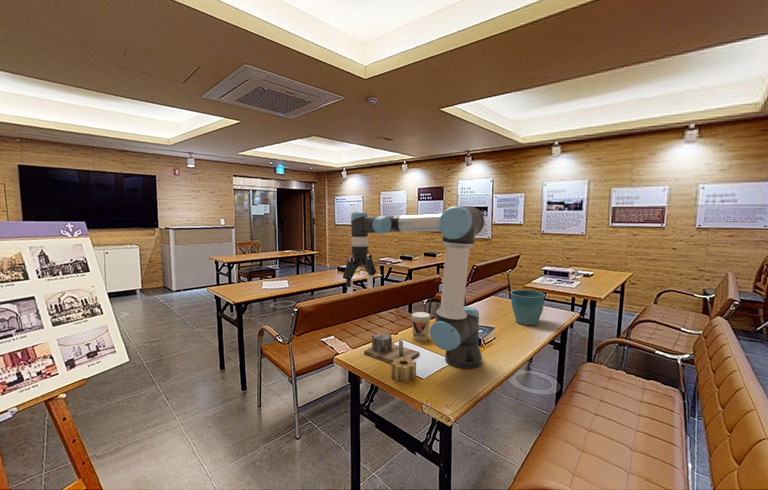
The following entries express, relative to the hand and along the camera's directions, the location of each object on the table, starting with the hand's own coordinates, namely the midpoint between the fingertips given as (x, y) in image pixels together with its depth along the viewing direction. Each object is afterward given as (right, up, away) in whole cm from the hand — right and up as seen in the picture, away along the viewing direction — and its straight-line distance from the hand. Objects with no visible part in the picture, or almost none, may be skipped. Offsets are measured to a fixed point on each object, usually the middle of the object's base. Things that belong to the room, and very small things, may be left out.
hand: (360, 291), depth 153 cm
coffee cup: (+29, -25, +12) cm, 41 cm away
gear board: (+14, -27, -8) cm, 32 cm away
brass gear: (+18, -29, -28) cm, 44 cm away
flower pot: (+93, -23, +35) cm, 102 cm away
